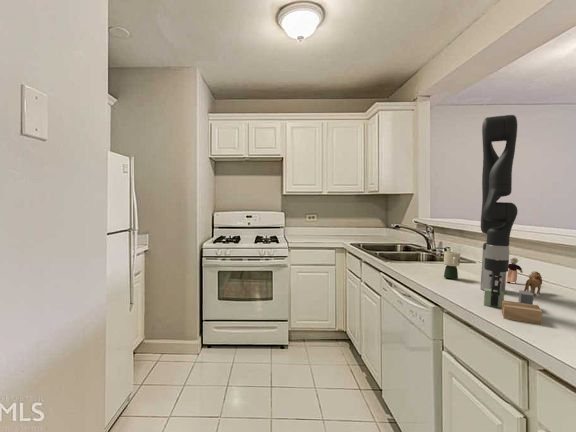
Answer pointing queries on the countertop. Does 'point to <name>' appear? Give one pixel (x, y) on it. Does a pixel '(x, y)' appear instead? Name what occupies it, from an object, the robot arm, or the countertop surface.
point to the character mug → (451, 264)
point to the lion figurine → (534, 282)
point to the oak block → (521, 312)
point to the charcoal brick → (525, 297)
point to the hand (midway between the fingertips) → (493, 304)
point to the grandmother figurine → (513, 270)
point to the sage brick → (488, 298)
